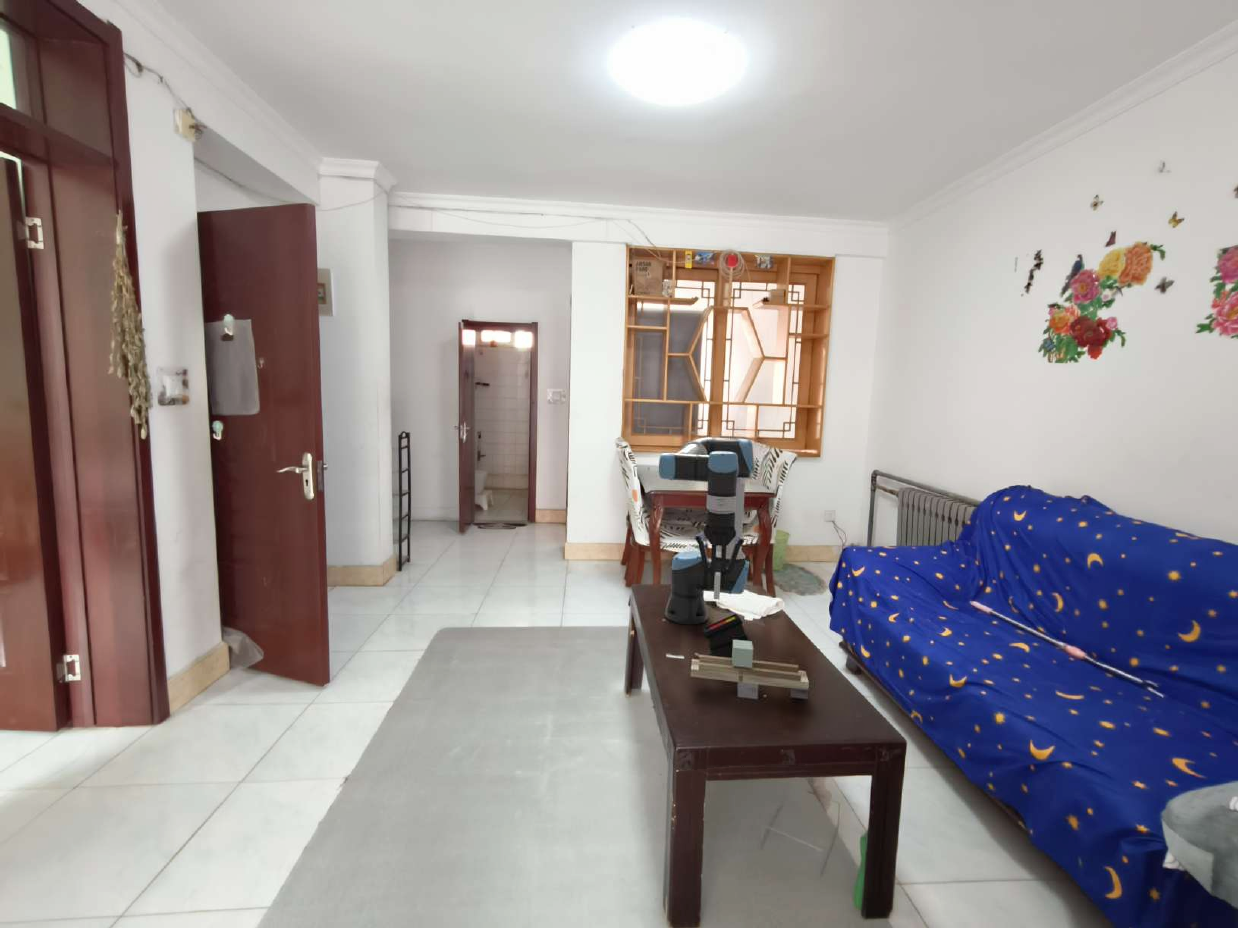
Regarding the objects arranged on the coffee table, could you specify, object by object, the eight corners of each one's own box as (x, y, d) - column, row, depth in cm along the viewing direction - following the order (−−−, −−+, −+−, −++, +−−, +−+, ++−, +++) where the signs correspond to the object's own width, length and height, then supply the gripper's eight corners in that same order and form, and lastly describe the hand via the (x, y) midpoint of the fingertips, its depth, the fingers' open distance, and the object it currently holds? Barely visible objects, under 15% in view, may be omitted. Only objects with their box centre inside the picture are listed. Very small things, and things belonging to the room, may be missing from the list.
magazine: (759, 662, 158) (740, 617, 156) (718, 680, 158) (698, 635, 156) (756, 656, 162) (737, 612, 160) (715, 673, 162) (696, 630, 160)
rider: (731, 664, 147) (733, 639, 147) (750, 666, 146) (752, 641, 146) (732, 672, 142) (733, 647, 142) (751, 675, 142) (753, 649, 141)
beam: (691, 679, 151) (692, 653, 150) (803, 692, 145) (805, 665, 144) (689, 690, 144) (691, 663, 143) (807, 705, 139) (809, 676, 138)
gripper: (694, 511, 140) (691, 600, 142) (746, 515, 137) (741, 604, 140) (696, 506, 147) (692, 590, 150) (745, 509, 144) (741, 594, 147)
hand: (716, 597), depth 145 cm, fingers closed
